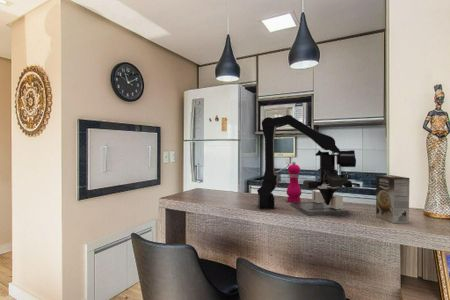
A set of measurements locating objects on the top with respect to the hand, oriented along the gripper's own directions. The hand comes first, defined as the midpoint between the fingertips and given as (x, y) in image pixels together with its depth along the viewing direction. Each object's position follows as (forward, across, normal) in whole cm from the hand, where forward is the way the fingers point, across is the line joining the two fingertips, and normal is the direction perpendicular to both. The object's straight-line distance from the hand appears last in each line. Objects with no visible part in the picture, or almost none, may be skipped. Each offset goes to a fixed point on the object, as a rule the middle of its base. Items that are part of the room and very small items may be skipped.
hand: (327, 204), depth 103 cm
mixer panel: (+3, -2, +6) cm, 7 cm away
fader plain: (+1, +2, +12) cm, 12 cm away
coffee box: (+3, +18, -13) cm, 22 cm away
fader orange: (+1, +4, 0) cm, 4 cm away
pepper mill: (+3, -5, +23) cm, 24 cm away
